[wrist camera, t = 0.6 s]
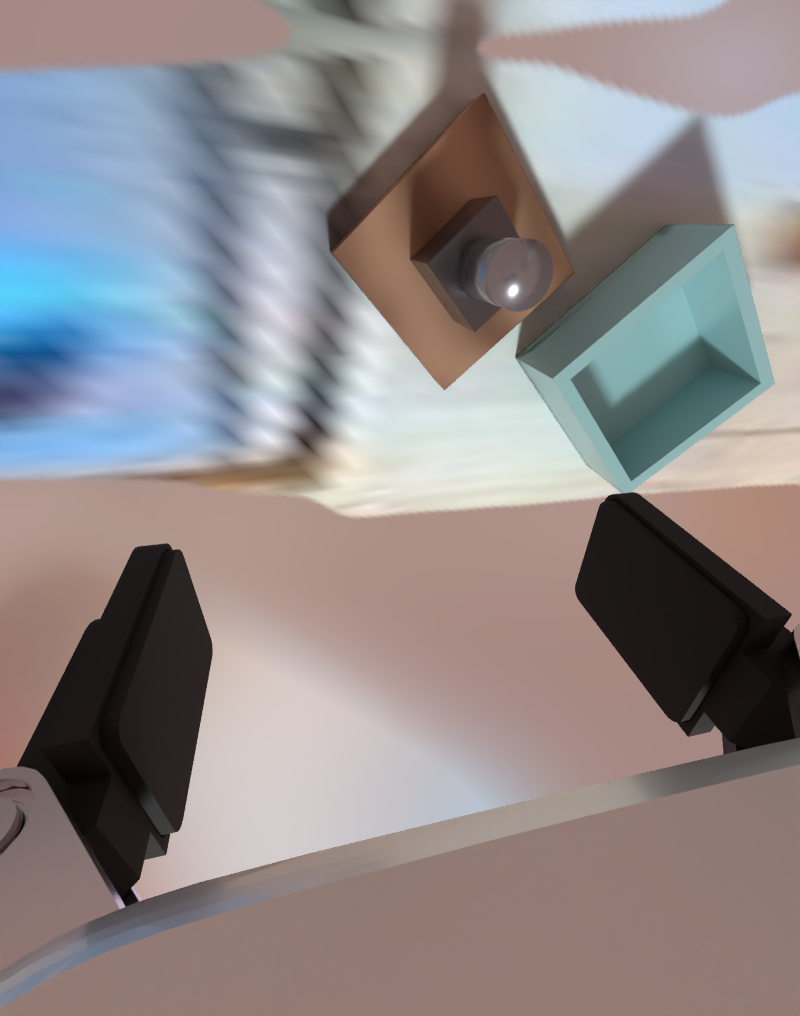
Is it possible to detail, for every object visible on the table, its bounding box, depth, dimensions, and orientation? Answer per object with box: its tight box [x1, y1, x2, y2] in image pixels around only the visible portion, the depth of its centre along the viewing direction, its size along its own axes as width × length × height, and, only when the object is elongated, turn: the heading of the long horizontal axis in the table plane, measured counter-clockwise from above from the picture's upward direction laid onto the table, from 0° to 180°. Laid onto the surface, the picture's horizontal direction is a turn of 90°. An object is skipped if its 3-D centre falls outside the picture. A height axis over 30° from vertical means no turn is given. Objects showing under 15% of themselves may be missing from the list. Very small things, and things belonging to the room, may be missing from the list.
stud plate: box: [330, 93, 574, 390], centre depth 29 cm, size 12×12×5 cm
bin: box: [516, 224, 775, 493], centre depth 35 cm, size 14×14×6 cm
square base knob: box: [410, 195, 553, 332], centre depth 25 cm, size 5×5×9 cm
